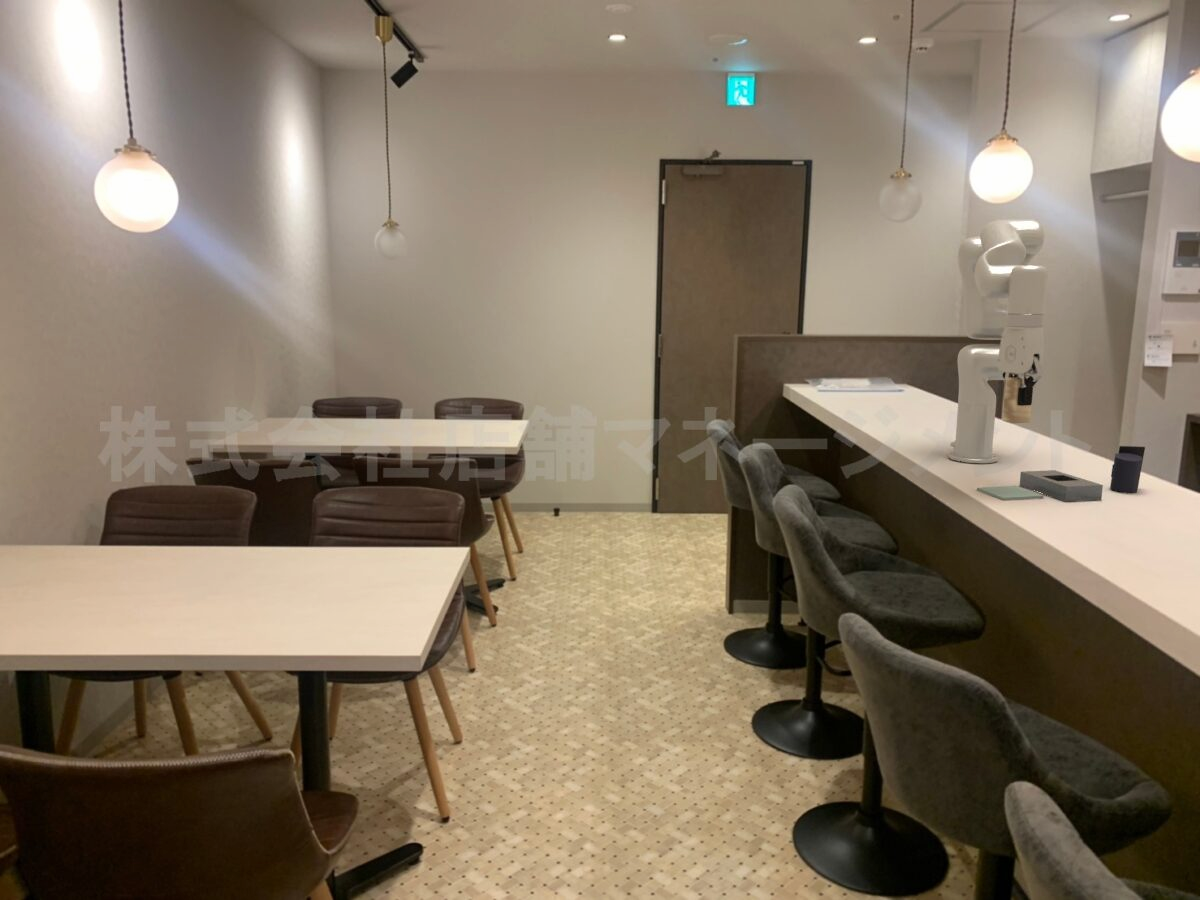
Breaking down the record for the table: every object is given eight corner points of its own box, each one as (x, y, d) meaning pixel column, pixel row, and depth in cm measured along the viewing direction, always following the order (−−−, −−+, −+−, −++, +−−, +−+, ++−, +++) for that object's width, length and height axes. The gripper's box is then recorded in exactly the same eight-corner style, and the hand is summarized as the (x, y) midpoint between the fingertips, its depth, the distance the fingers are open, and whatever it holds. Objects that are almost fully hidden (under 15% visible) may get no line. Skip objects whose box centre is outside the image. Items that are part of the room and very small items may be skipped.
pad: (976, 490, 205) (977, 487, 205) (1015, 488, 207) (1015, 485, 207) (1003, 500, 196) (1003, 497, 195) (1043, 498, 197) (1043, 495, 197)
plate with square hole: (1019, 485, 209) (1020, 471, 209) (1053, 484, 211) (1054, 470, 210) (1065, 502, 194) (1066, 486, 193) (1101, 500, 195) (1102, 484, 195)
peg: (1002, 420, 200) (1006, 377, 198) (1018, 420, 200) (1022, 376, 198) (1013, 423, 196) (1017, 379, 194) (1029, 423, 196) (1033, 378, 195)
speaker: (1110, 484, 210) (1116, 442, 207) (1138, 488, 207) (1145, 446, 204) (1107, 493, 204) (1114, 451, 201) (1136, 497, 201) (1143, 454, 198)
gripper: (986, 320, 201) (980, 399, 205) (1034, 324, 185) (1026, 409, 189) (1015, 320, 203) (1009, 398, 206) (1065, 323, 186) (1057, 408, 190)
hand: (1017, 403), depth 197 cm, fingers closed on peg, 4 cm apart
